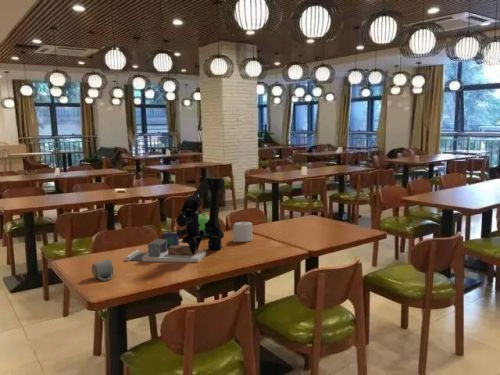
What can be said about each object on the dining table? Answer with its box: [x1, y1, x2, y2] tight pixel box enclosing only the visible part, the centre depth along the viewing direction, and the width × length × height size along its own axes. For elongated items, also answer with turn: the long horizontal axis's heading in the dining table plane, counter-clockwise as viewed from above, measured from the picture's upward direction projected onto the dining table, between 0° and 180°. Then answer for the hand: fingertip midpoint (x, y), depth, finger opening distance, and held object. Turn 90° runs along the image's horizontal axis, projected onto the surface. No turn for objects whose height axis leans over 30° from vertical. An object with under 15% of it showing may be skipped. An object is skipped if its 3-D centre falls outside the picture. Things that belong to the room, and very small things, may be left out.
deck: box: [125, 249, 207, 263], centre depth 232 cm, size 39×14×2 cm, turn 80°
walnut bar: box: [167, 244, 198, 256], centre depth 230 cm, size 14×4×4 cm, turn 79°
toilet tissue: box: [232, 221, 254, 243], centre depth 263 cm, size 11×12×10 cm
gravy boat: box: [198, 211, 210, 237], centre depth 279 cm, size 18×17×15 cm
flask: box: [161, 229, 180, 250], centre depth 250 cm, size 9×3×11 cm, turn 87°
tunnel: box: [147, 238, 168, 257], centre depth 232 cm, size 6×11×6 cm, turn 170°
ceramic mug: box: [91, 259, 114, 282], centre depth 201 cm, size 11×8×8 cm
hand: (194, 252), depth 229 cm, fingers closed on walnut bar, 4 cm apart
